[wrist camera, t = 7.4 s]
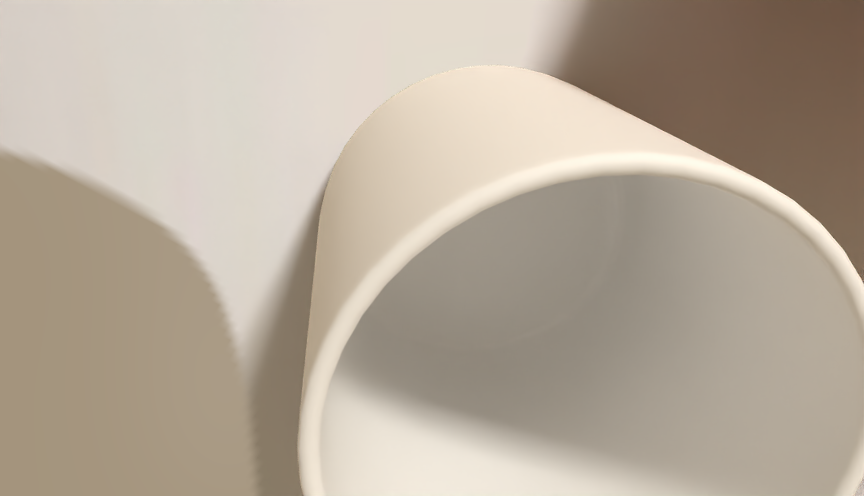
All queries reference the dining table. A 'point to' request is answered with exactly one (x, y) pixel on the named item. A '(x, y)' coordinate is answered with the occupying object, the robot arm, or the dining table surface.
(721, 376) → the mug
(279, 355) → the dining table surface
